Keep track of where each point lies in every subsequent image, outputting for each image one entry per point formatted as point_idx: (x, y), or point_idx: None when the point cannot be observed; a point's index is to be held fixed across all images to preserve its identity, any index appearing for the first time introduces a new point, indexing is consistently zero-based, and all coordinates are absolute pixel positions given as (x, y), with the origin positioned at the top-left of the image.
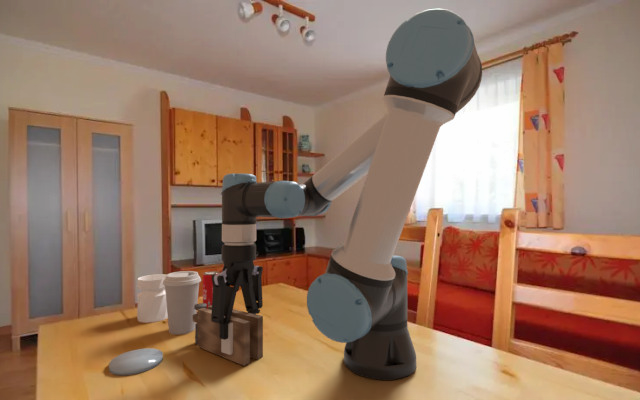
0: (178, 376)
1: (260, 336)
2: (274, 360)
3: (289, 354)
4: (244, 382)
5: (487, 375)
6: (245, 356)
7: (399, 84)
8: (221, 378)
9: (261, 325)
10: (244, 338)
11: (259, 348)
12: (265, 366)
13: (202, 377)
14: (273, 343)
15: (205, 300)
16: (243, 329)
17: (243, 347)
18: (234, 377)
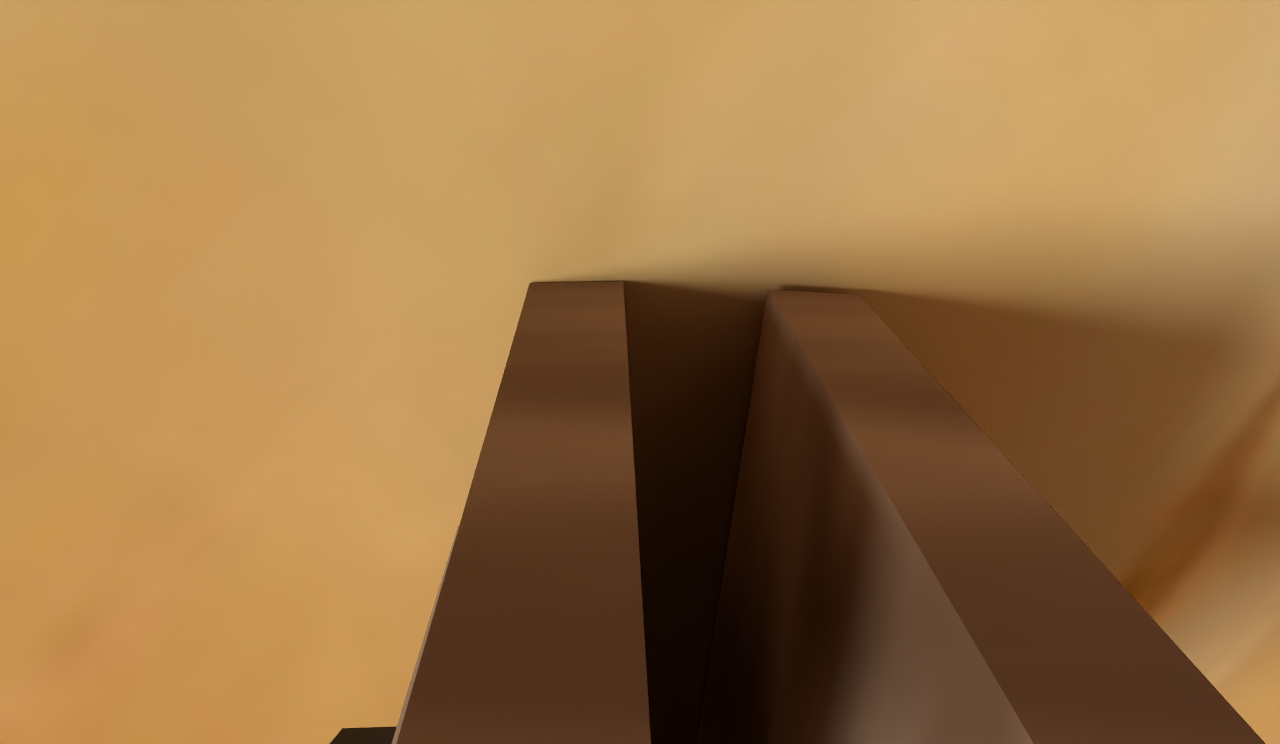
0: (1208, 627)
1: (560, 416)
2: (511, 79)
3: (227, 4)
4: (1160, 17)
5: None
6: (868, 332)
7: None
8: (1145, 314)
9: (507, 550)
10: (1014, 477)
11: (593, 331)
12: (710, 71)
13: (1175, 471)
14: (168, 421)
15: None
16: (1140, 623)
17: (945, 406)
18: (1088, 212)
